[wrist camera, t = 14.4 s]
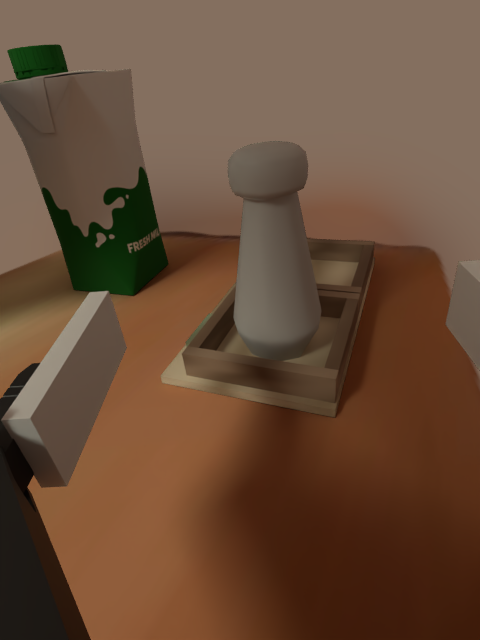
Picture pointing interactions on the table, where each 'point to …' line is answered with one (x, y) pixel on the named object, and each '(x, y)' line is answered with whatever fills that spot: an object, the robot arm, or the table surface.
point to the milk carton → (87, 167)
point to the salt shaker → (273, 252)
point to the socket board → (295, 374)
